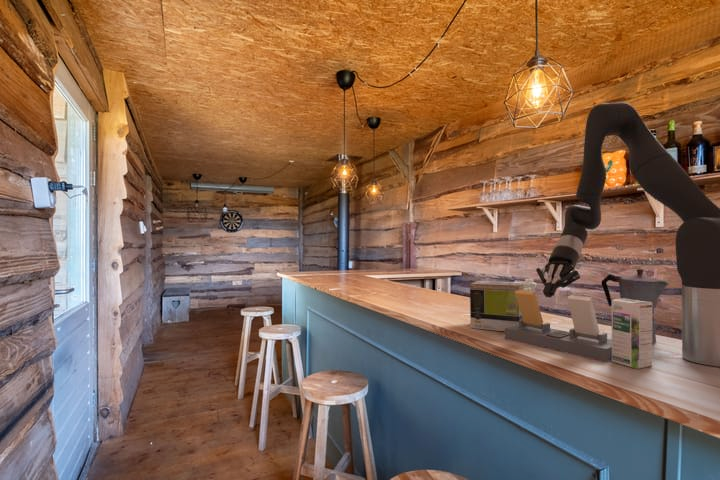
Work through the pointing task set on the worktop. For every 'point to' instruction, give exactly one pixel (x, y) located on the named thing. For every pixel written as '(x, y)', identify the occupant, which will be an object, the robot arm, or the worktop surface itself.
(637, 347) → the syrup box
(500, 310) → the tea box
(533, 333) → the toggle switch base
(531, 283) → the strainer
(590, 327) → the toggle
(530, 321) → the toggle
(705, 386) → the worktop surface
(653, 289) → the moka pot
